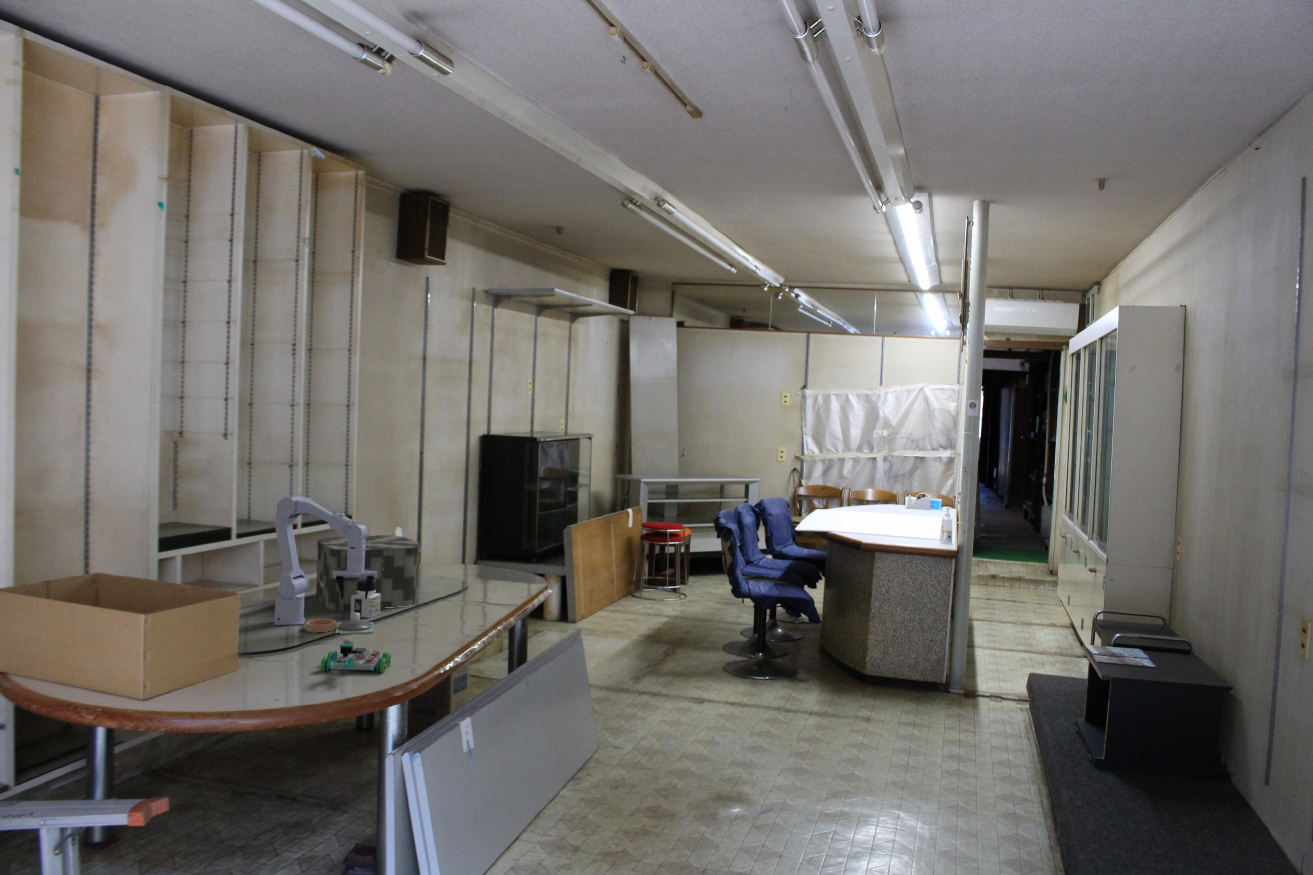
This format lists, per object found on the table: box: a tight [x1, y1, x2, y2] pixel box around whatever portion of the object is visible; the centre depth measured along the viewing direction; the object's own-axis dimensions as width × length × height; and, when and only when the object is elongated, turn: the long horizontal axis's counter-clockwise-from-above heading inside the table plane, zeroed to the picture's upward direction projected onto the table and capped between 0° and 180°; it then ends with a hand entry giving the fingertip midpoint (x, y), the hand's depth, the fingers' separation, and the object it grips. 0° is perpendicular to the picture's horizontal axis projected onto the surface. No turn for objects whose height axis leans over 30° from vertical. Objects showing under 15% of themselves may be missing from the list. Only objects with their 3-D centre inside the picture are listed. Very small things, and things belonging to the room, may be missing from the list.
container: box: [350, 579, 381, 619], centre depth 329 cm, size 8×8×13 cm
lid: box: [338, 612, 372, 631], centre depth 309 cm, size 11×11×5 cm
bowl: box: [304, 618, 337, 634], centre depth 305 cm, size 10×10×2 cm
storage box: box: [315, 534, 422, 612], centre depth 353 cm, size 35×35×23 cm
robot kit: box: [320, 638, 392, 674], centre depth 259 cm, size 19×25×9 cm
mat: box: [334, 621, 374, 635], centre depth 309 cm, size 12×14×1 cm
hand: (354, 598), depth 309 cm, fingers open, 7 cm apart
